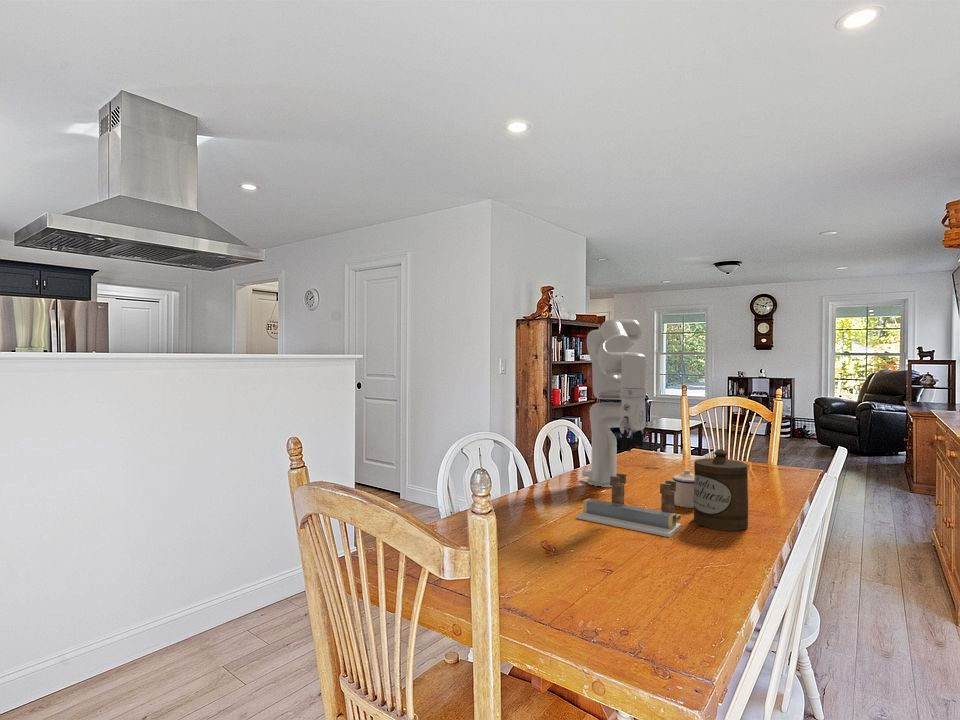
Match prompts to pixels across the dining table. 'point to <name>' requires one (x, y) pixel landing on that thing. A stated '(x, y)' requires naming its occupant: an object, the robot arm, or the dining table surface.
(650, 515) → the rail
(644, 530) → the mat
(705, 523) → the wooden container
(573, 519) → the dining table surface
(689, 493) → the teacup with lid
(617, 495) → the rack
